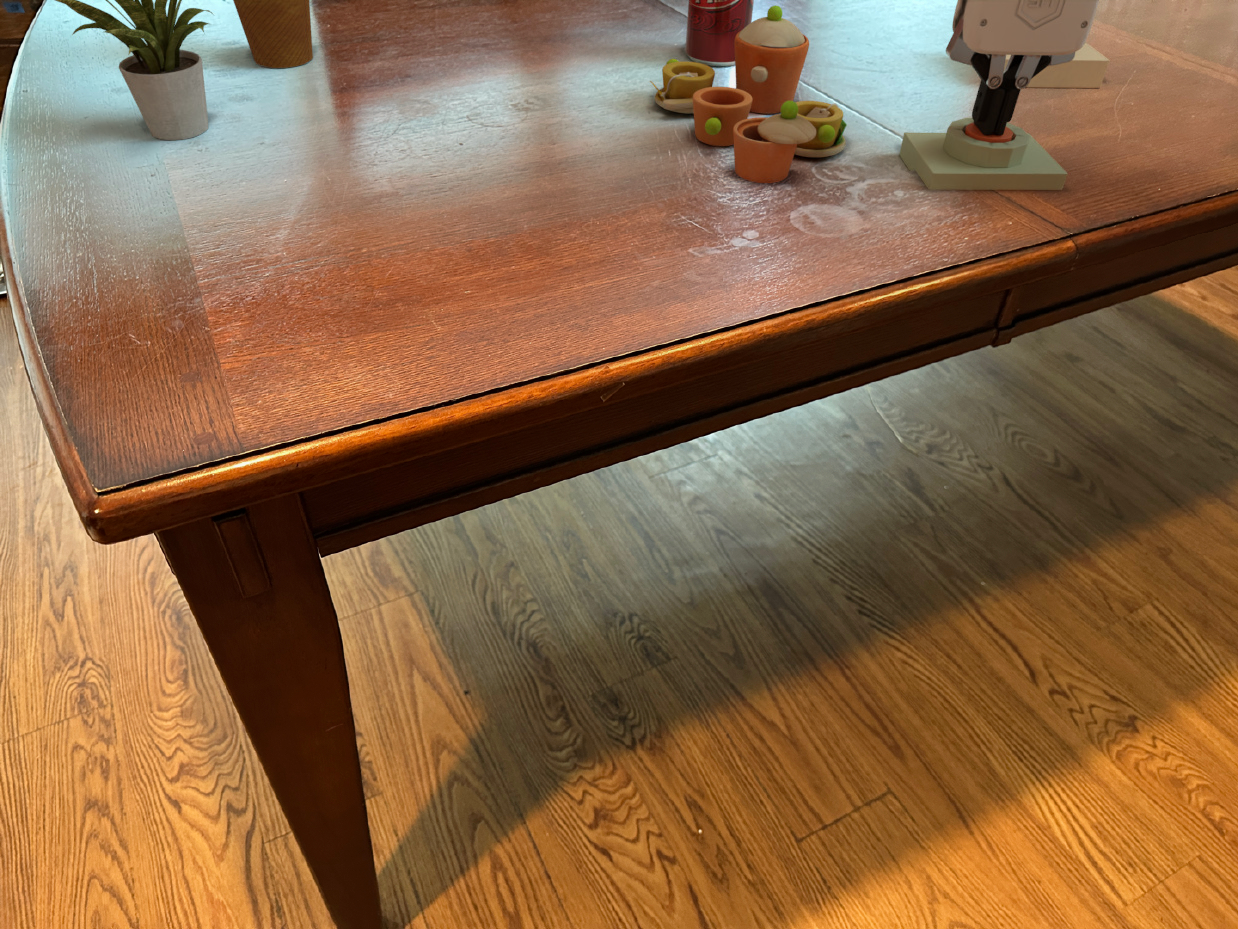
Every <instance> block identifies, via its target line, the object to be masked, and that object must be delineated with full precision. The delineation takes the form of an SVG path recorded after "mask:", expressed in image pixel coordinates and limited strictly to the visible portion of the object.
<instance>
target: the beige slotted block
mask: <svg viewBox="0 0 1238 929" xmlns="http://www.w3.org/2000/svg"><path fill="white" fill-rule="evenodd" d="M1010 57H1011V55H1006V60H1005V67H1004V70H1005V68H1006V66H1007V63H1008V61H1009V59H1010ZM1110 62H1111V60H1110V59H1109V58H1107V57H1106V56H1105V55H1103V54H1102V53H1101V52H1099V51H1098V50H1097V49H1095V48H1094V47H1092V45H1090V44H1089V43H1088V42H1087V41H1086V42H1085V44H1084V45H1083V47H1082V48H1081V49H1079V50H1078V51H1076V52H1075V57H1074V58H1073V60H1071V61H1070V62H1066V63H1062V64H1058V65H1053V66H1047V67H1046V68H1045V69H1043V70H1042V71H1041V72H1040V73H1038V74H1037V75H1036V76H1034V77H1033V78H1032V79H1031V80H1030V82H1029V84H1028V86H1027V87H1026V88H1043V89H1044V88H1047V89H1049V88H1051V89H1052V88H1053V89H1055V88H1057V89H1059V88H1061V89H1064V88H1065V89H1068V88H1069V89H1101V86H1102V84H1103V80H1104V78H1105V75H1106V72H1107V70H1108V67H1109V63H1110Z"/></svg>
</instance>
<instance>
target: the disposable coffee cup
mask: <svg viewBox="0 0 1238 929" xmlns="http://www.w3.org/2000/svg"><path fill="white" fill-rule="evenodd" d="M232 1H233V5H234V6H235V10H236V12H237V13H236V14H237V15H238V19H239V21H240V24H241V27H242V29H243V33H244V36H245V38H246V41H247V44H248V46H249V49H250V53H251V55H252V58H253V61H254V63H255V64H256V65H258V66H261V67H264V68H270V69H272V68H273V69H288V68H294V67H298V66H302V65H306V64H307V63H309V62H310V61H312V60H313V58H314V54H313V38H312V37H313V36H312V22H311V20H312V19H311V8H310V5H311V4H310V0H232Z"/></svg>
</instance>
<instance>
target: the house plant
mask: <svg viewBox="0 0 1238 929" xmlns="http://www.w3.org/2000/svg"><path fill="white" fill-rule="evenodd" d="M54 1H55V2H58V3H61V4H64V5H66V6H67V7H68V8H69V9H71V10H72V11H74V12H75V13H77V14H78V15H80V16H82V17H84V18H86V19H88V20H90V21H92V22H91V23H85V24H82V25H80V26H78V27H76V28H75V29H74V31H73V32H72V34H71V36H73V35H75V34H76V33H77V32H80V31H83V30H88V29H100V30H103V33H106V34H110V35H112V36H113V37H115V38H116V39H118V40H119V41H120V42H121V43H122V44H124V45H125V46H126V47H127V49H128V57H126V58H124V59H122V60H121V61H120V62H119V64H118V70H119V72H120V73H121V76H122V77H123V80H124V82H125V83H126V86H127V88H128V90H129V92H130V93H131V96H132V98H133V99H134V102H135V104H136V106H137V108H138V110H139V112H140V114H141V116H142V118H143V120H144V122H145V125H146V126H147V128H148V130H149V133H150V134H151V136H152V137H154V138H156V139H159V140H164V141H181V140H187V139H192V138H196V137H198V136H201V135H202V134H203V133H205V132H206V131H208V130H209V118H208V116H209V115H208V108H207V106H208V105H207V98H206V97H207V96H206V88H205V86H206V85H205V78H204V67H203V58H202V56H201V55H199V54H198V53H196V52H194V51H190V50H185V49H181V47H182V45H183V42H184V41H185V39H186V38H188V36H189V35H190V34H192V33H193V32H195V31H197V30H198V29H200V30H201V31H202V32H203V33H204V34H205V30H204V27H205V26H206V25H207V26H208V25H210V23H209V22H206V21H202V20H201V21H200V20H198V21H191V20H192V19H193V18H194V17H195V16H197V15H199V14H200V13H203V12H208V13H210V14H211V15H214V13H213V12H212V11H210V10H209V9H202V8H198V7H188V8H187V9H184V10H183V11H182V13H181V14H179V10H180V7H181V4H182V1H183V0H155V1H153V0H114V2H115V3H116V4H118V5H119V7H120V8H121V9H122V10H123V11H124V12H125V13H126V15H127V16H128V17H129V19H130V20H131V21H132V22H131V21H129V19H128V18H127V17H126V16H125V15H124V14H123V13H122V12H121V11H120V10H119V9H118V8H117V7H116V6H115V5H114V4H113V3H112V2H111V1H109V0H105V1H106V2H107V3H108V4H109V5H110V6H111V7H112V8H113V9H115V11H117V12H118V14H120V15H121V16H122V17H123V18H124V19H125V21H127V22H128V23H129V24H130V25H131V27H133V28H131V27H129V25H126V24H125V23H124V22H122V21H121V20H119V19H118V18H116V17H115V16H114V15H112V14H111V13H109V12H106V11H105V10H102V9H100V8H98V7H95V6H93V5H91V4H88V3H85V2H84V1H80V0H54ZM167 4H168V9H167ZM178 15H179V16H178ZM212 25H213V26H214V24H212ZM204 34H203V35H204ZM131 53H132V55H130V54H131Z"/></svg>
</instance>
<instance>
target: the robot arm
mask: <svg viewBox="0 0 1238 929" xmlns="http://www.w3.org/2000/svg"><path fill="white" fill-rule="evenodd" d="M1099 3H1100V0H957V2H956V6H955V9H954V12H953V13H954V14H953V19H952V26H951V27H952V28H951V29H952V32H953V33H952V36H951V37H950V39H949V41H948V44H947V46H946V47H945V54H946V56H948V57H949V59H950V60H952V61H954V62H957V63H961V64H964V65H967V66H972V68H973V69H974V71H975V72H976V74H977V77H979V79H980V82H979V85H978V89H977V92H976V96H975V101H974V103H973V107H972V110H971V118H972V119H973V120H974V124H975V126H976V127H977V128H978V129H979V130H980V131H981V133H982V134H983V135H991V134H993V133H994V134H995V135H1003V134H1004V131H1005V127H1006V124H1007V122H1008V123H1010V122H1011V120H1012V119H1013V116H1014V112H1015V109H1016V106H1017V103H1018V100H1019V96H1020V93H1021V90H1024V89H1026V88H1028V87H1027V86H1028V84H1029V82H1030V80H1031V79H1032V78H1033V77H1034V76H1036V75H1037V74H1038V73H1040V72H1041V71H1042V70H1043V69H1045V68H1046V67H1047V66H1053V65H1058V64H1062V63H1066V62H1070V61H1071V60H1073V58H1074V57H1075V52H1076V51H1078V50H1079V49H1081V48H1082V47H1083V45H1084V44H1085V42H1086V43H1087V40H1088V37H1089V35H1090V32H1091V29H1092V26H1093V23H1094V19H1095V17H1096V13H1097V9H1098V6H1099ZM1006 55H1011V57H1010V59H1009V61H1008V63H1007V66H1006V68H1005V70H1004V67H1005V60H1006Z"/></svg>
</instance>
